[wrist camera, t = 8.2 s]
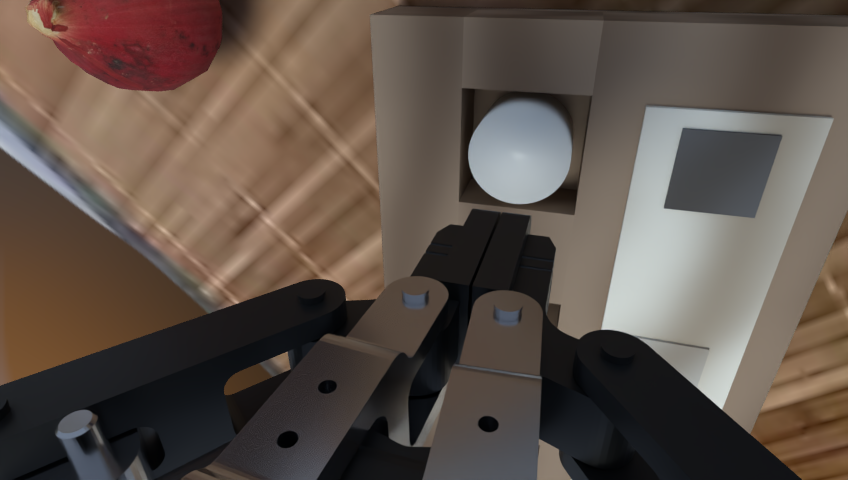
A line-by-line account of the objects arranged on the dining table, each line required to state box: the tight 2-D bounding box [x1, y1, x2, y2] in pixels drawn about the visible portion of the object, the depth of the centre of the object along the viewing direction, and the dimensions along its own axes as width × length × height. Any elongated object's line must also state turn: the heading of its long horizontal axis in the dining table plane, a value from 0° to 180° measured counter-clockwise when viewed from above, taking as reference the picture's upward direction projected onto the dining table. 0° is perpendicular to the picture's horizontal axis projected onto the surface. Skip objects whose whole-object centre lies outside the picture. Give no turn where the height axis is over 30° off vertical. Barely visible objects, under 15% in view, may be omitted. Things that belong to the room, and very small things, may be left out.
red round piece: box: [25, 0, 222, 91], centre depth 19 cm, size 6×6×8 cm
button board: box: [370, 6, 848, 480], centre depth 23 cm, size 16×26×3 cm, turn 3°
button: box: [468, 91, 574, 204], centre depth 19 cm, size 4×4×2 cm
